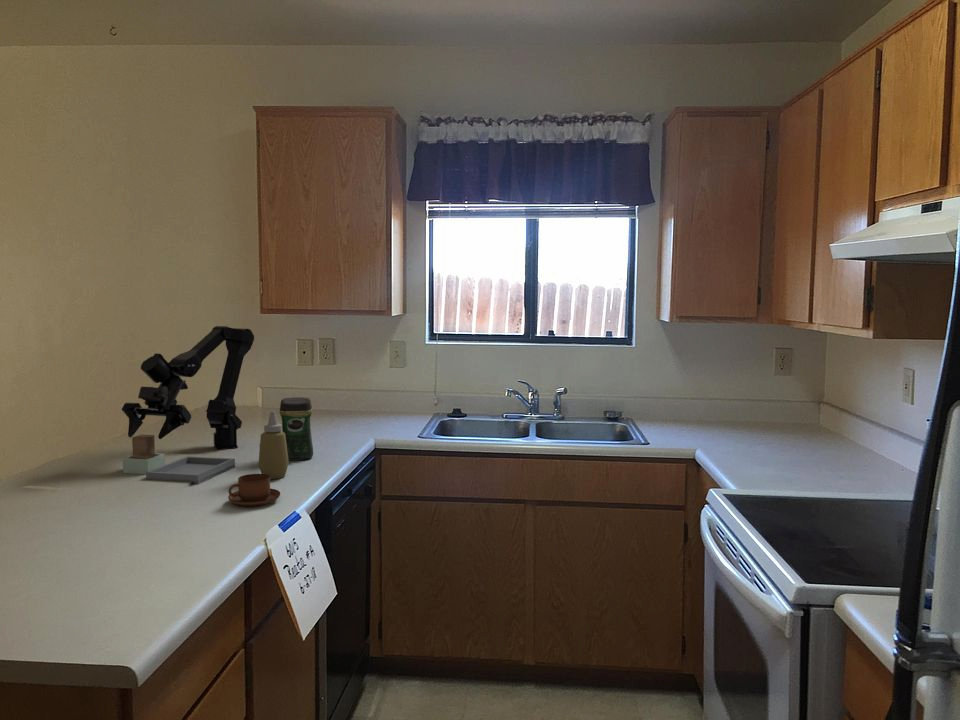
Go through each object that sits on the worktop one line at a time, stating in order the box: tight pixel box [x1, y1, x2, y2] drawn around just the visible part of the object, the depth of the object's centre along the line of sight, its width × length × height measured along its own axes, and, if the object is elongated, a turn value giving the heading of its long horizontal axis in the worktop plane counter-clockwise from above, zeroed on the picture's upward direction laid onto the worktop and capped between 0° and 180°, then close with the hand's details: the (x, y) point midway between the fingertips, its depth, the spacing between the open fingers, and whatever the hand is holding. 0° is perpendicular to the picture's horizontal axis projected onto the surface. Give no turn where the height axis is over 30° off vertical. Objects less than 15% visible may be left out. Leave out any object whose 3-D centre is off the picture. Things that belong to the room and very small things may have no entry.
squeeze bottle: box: [257, 410, 290, 480], centre depth 196 cm, size 8×8×18 cm
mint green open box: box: [122, 452, 166, 475], centre depth 200 cm, size 8×8×4 cm
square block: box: [131, 434, 156, 459], centre depth 200 cm, size 4×4×10 cm
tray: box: [145, 455, 236, 485], centre depth 199 cm, size 19×15×2 cm
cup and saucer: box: [227, 473, 281, 507], centre depth 173 cm, size 12×12×6 cm
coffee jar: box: [279, 396, 314, 461], centre depth 218 cm, size 10×8×19 cm
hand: (144, 437), depth 200 cm, fingers open, 9 cm apart
